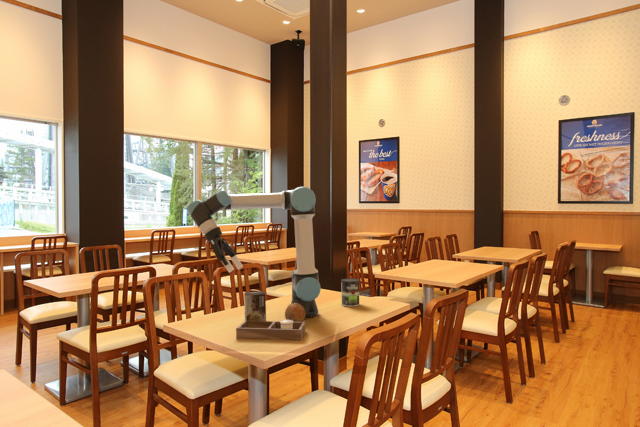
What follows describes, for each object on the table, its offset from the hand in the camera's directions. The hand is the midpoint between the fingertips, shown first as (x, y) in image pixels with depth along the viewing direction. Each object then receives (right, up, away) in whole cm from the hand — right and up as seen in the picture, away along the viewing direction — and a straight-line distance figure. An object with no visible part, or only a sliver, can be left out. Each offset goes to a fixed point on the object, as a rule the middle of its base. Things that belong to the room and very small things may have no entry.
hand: (236, 269), depth 186 cm
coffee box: (+8, -27, +1) cm, 28 cm away
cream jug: (+24, -26, -13) cm, 37 cm away
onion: (+26, -27, +7) cm, 38 cm away
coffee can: (+55, -26, +46) cm, 76 cm away
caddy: (+17, -27, -12) cm, 34 cm away
